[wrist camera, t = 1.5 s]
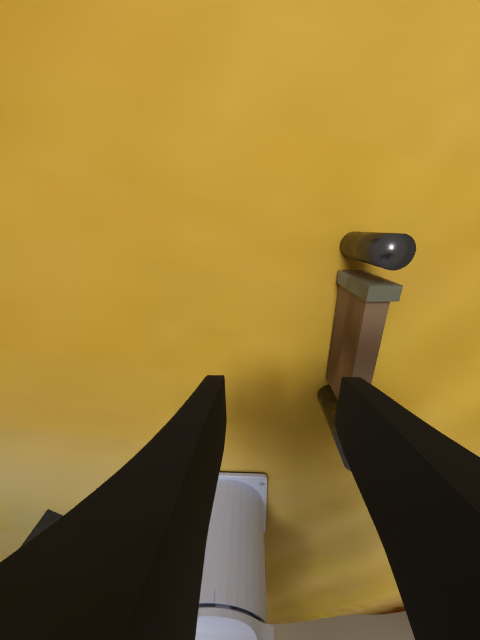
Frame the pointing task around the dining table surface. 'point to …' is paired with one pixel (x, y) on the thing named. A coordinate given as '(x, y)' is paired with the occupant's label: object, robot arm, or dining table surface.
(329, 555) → the dining table surface
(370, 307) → the brown wooden block
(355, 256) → the gate posts
